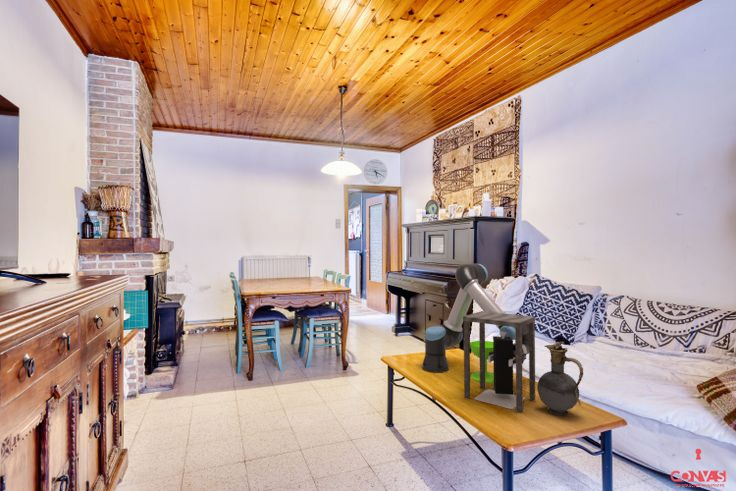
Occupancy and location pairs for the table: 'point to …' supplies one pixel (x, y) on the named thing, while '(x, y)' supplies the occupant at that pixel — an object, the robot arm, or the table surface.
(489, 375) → the wineglass
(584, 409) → the table surface
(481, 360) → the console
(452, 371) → the table surface
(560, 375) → the pitcher
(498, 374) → the tissue box
